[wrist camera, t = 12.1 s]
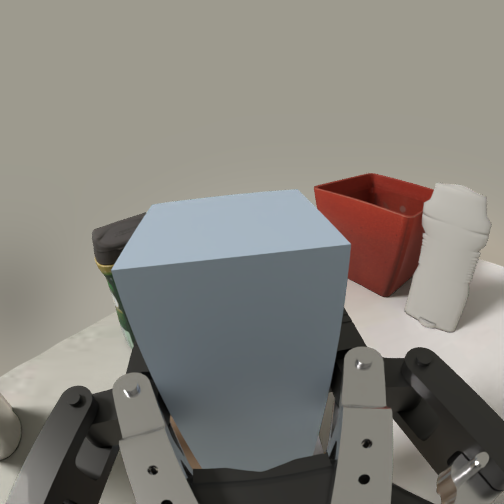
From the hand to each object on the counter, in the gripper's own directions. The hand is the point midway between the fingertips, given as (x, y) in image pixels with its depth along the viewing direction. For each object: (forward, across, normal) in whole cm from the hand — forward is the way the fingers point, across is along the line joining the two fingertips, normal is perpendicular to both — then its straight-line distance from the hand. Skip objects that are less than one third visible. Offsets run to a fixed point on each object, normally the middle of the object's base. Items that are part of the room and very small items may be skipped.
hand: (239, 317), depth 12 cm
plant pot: (+34, -28, +22) cm, 49 cm away
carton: (-2, 0, +9) cm, 9 cm away
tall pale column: (+18, -30, +22) cm, 41 cm away
